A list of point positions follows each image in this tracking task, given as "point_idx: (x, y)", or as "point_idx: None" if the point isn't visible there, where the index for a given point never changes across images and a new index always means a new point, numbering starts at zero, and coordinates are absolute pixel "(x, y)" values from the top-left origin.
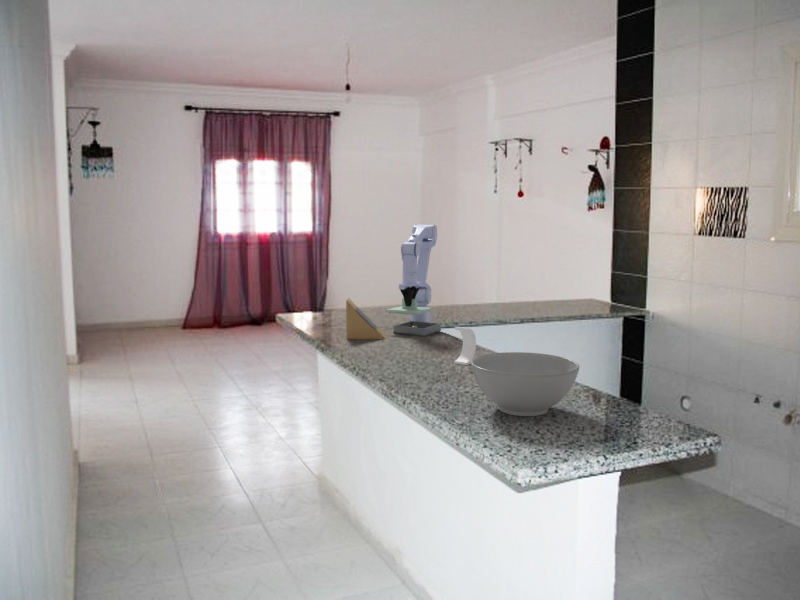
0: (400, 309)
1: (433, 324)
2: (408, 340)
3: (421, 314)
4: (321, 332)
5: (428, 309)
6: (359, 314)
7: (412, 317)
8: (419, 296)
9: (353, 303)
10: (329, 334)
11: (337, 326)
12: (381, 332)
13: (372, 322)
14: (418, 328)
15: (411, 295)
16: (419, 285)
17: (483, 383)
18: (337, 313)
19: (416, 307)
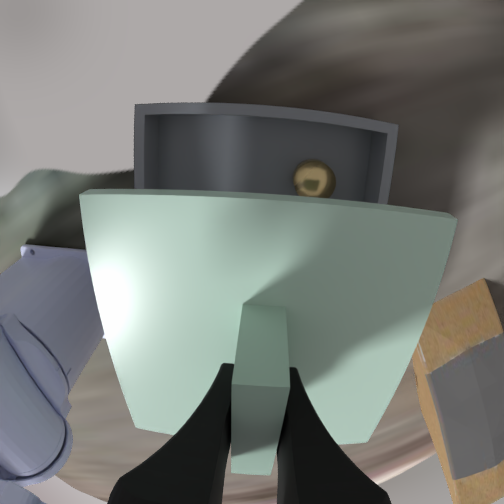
0: (343, 392)
1: (147, 156)
2: (498, 170)
3: (65, 302)
4: (388, 463)
5: (185, 193)
6: None
7: (98, 337)
8: (10, 396)
9: (482, 486)
10: (416, 441)
11: (276, 478)
12: (472, 319)
13: (466, 386)
14: (391, 172)
15: (328, 454)
16: (16, 498)
17: None
18: (107, 493)
19: (257, 315)
